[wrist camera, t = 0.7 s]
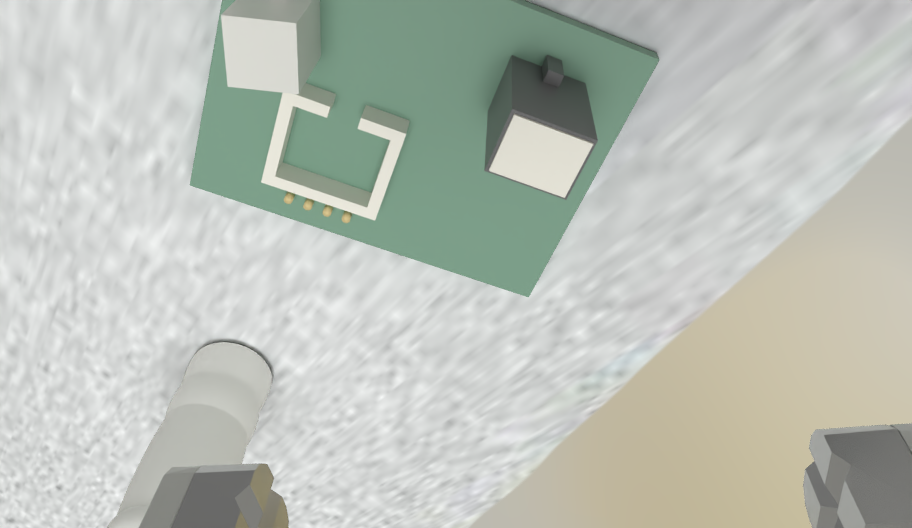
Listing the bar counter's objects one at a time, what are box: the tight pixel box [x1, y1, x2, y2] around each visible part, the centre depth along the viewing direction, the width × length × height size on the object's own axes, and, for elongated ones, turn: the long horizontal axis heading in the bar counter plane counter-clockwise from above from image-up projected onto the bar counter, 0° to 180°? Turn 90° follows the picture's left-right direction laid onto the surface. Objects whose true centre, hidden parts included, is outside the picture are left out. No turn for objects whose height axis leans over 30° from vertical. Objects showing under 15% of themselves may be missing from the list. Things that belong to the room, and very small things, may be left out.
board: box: [190, 0, 659, 297], centre depth 49 cm, size 20×26×3 cm
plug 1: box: [221, 0, 321, 94], centre depth 43 cm, size 5×4×6 cm
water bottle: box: [107, 342, 272, 528], centre depth 54 cm, size 7×7×25 cm
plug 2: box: [484, 55, 598, 200], centre depth 44 cm, size 5×5×8 cm
